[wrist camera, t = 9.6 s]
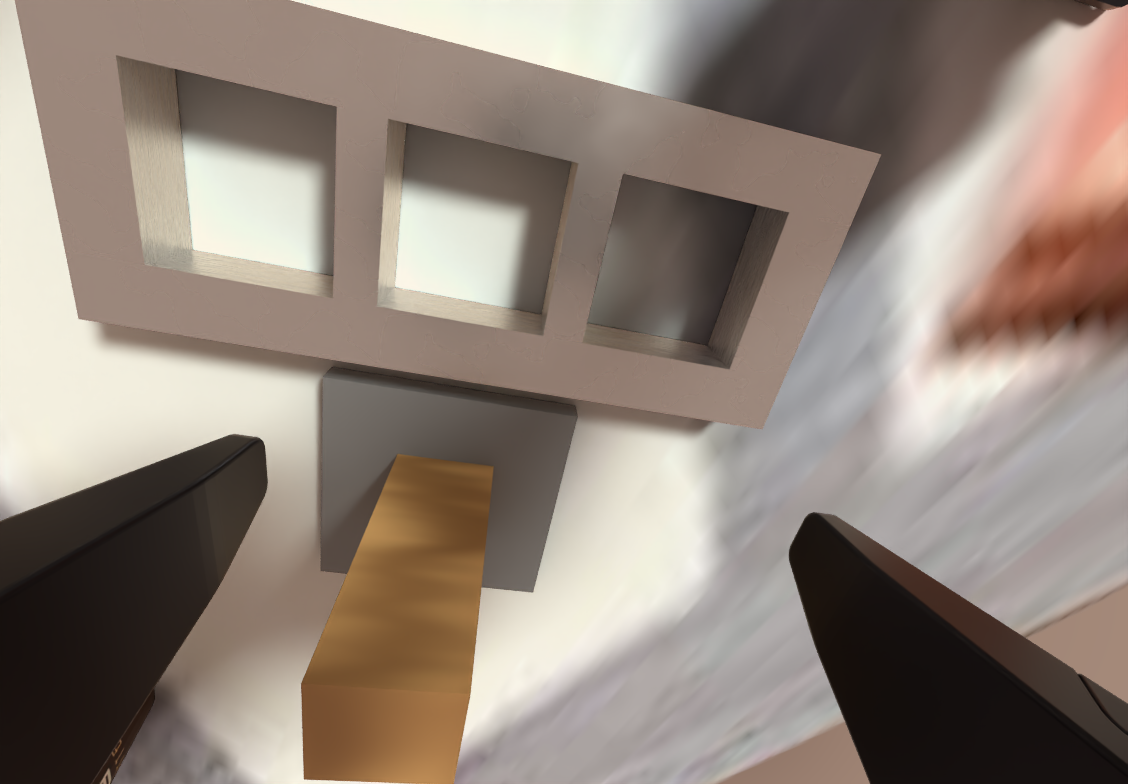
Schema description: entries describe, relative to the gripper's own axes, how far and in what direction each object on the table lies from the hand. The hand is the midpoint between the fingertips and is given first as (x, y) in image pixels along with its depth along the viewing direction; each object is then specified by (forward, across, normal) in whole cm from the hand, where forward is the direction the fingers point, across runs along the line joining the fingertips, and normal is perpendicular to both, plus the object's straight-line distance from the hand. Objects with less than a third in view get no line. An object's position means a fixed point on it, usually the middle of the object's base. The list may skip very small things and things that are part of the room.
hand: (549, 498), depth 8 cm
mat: (+12, +3, +10) cm, 16 cm away
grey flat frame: (+12, +3, -2) cm, 13 cm away
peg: (+11, +3, +10) cm, 15 cm away
